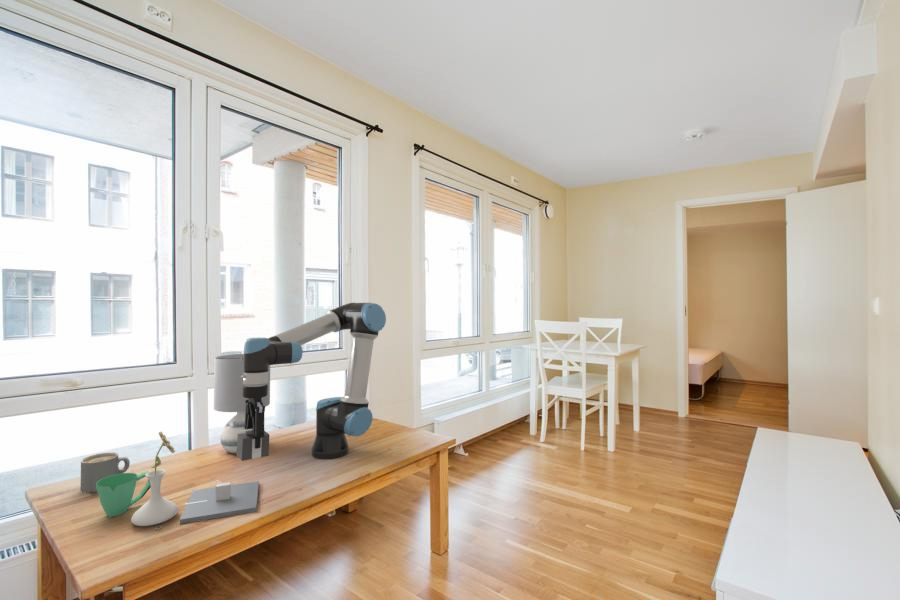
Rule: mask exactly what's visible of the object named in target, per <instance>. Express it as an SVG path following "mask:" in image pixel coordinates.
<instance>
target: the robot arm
mask: <svg viewBox="0 0 900 600" xmlns="http://www.w3.org/2000/svg"><path fill="white" fill-rule="evenodd" d="M386 316H387V315H386V312H385V310H384V309H383V307H382V306H381V305H379V304H377V303H373V302H350V303H349V302H348V303H345V304H343V305H340V306H338V307H335V308H333V309H331V310H328V311H327V312H326V313H325V315H322V316H319V317H317V318H315V319H312V320H310V321H308V322H305V323H302V324H300V325H297V326H295V327H292V328H290V329H288V330H285V331H283V332H281V333H278V334H275V335H273V336H270V337H248V338H246V339H245V341H244V347H243V354H244V375H243V376H242V378H243V384H245V385H244V386H243V397H244V398H249V399H248V400H246V401H245V404H246V409H245V427H244V428H245V429H249V428H253V437H251V439H252V459H251V460H254V459H260V458H262V457H261V444H262V437H264V431H265V411H266V407H265V406H263V402H262V400H261V398H262V397H265V396H267V394H268V385H267V383H268V367H269V365H270V366H273V365H274V366H275V365H288V364H290V365H291V364H294V363H295V364H296V363H299V362H300V361H301V359H302V358H303V347H302V346H303V345H305V344H307V343H310V342H312V341H314V340H317V339H319V338H321V337H324V336H325V335H328V334H330V333H338V332H341V331H345V330H350V331H349V334H350V335H351V336H352V344H351V349H350V358H349V361H348V362H349V363H348V370H347V377H346V384H345V390H344V396H333V397H327V398H322V399H320V400H318V401H317V403H316V408H315V410H316V416H315V417H316V418H315V420H316V425H315V427H316V433H315V438H314V441H313V444H312V448H311V456H312V457H314V458H316V459H322V460H327V459H328V460H329V459H337V458H340V457H341V458H342V457H343V456H345V455H347V454H348V453H349V450H350V449H349V447H350V446H349V444H348V440H347V437H346V436H349V437H351V436H352V437H361V436H363V435H365V434H366V432H367V431H368V430H369V429H370V427H371V425H372V424H373V423H372V422H373V418H374V417H373V413H372V411H371V410H370V409H369V401H368V399H367V398H366V397H367V392H368V391H367V390H368V384H369V377H370V369H371V362H372V354H373V348H374V341H375V340H376V339H377V338H378V337H379V332H380V331H382V330H383V328H384V327H385V325H386V323H387V317H386ZM259 433H260V434H259Z"/></svg>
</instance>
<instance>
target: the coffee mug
mask: <svg viewBox="0 0 900 600" xmlns="http://www.w3.org/2000/svg"><path fill="white" fill-rule="evenodd" d="M121 461H123V462H124V466H123V467H122V468H119V464H120V462H121ZM130 464H131V462H130V459H129V458H128V457H127V456H123V455H122V456H119V453H118V452H108V451H107V452H101V453H95V454H91V455H89V456H86V457H84V458H82V459H80V492H81V491H82V492H81V493H83V492H86V493H85V494H91V493H90V492H94V493H98V492H97V488H96V484H97V482H98V481H99V480H101V479H103V478H106V477H109V476H112V475H116V474H122V473H127V470H129V468H130V466H131V465H130Z"/></svg>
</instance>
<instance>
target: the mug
mask: <svg viewBox="0 0 900 600" xmlns="http://www.w3.org/2000/svg"><path fill="white" fill-rule="evenodd" d="M148 472H150V471H144V472H142V473H140V474H137V473H134V472H124V473H122V474H116V475H112V476H109V477H106V478H103V479H101V480H99V481H98V482H97V484H96V488H97V492H96V493H97V494H98V499H99V503H100V505H101V508H102V510H103V511H104V513H105V515H106V516H107V517H118V516H121V515H123V514H125V513H126V512H127V511H128V510H129V508H130V507H131V506H133V505H134V504H135V503H137V502H138V501H140V500H141V499H143V497H144V496H145V495H146V494H147V493H148V491H149V490H151V485H150V481H149V479H148V478H147V477H146V476H145V474H146V473H148ZM144 478H147V482H146V484H145V486H144V487H143V488H142V490H141V491H140V492H139V494H138V495H136V496H134V493H135V488H136V485H137V482H138V481H140V480H142V479H144ZM133 496H134V497H133Z"/></svg>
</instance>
